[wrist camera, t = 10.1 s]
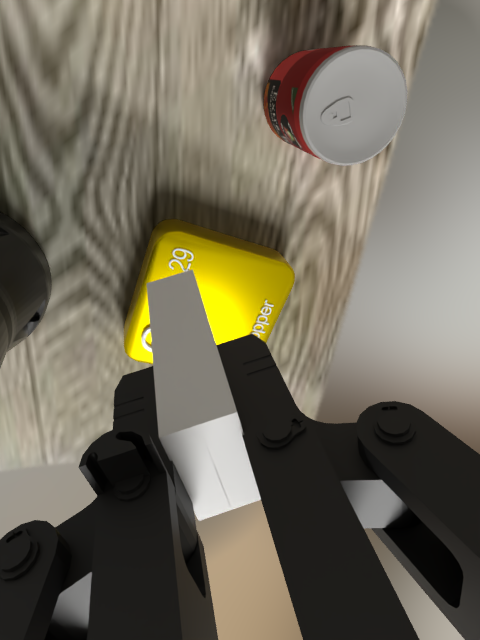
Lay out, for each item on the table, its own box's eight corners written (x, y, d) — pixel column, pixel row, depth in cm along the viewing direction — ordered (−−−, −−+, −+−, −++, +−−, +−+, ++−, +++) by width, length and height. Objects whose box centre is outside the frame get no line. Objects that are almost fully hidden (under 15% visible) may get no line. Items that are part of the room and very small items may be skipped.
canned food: (245, 84, 37) (283, 91, 28) (323, 28, 37) (388, 16, 27) (284, 161, 42) (329, 188, 32) (355, 112, 41) (421, 126, 31)
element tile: (240, 360, 53) (249, 385, 49) (119, 337, 48) (118, 362, 44) (289, 253, 47) (304, 270, 43) (157, 211, 42) (160, 227, 38)
